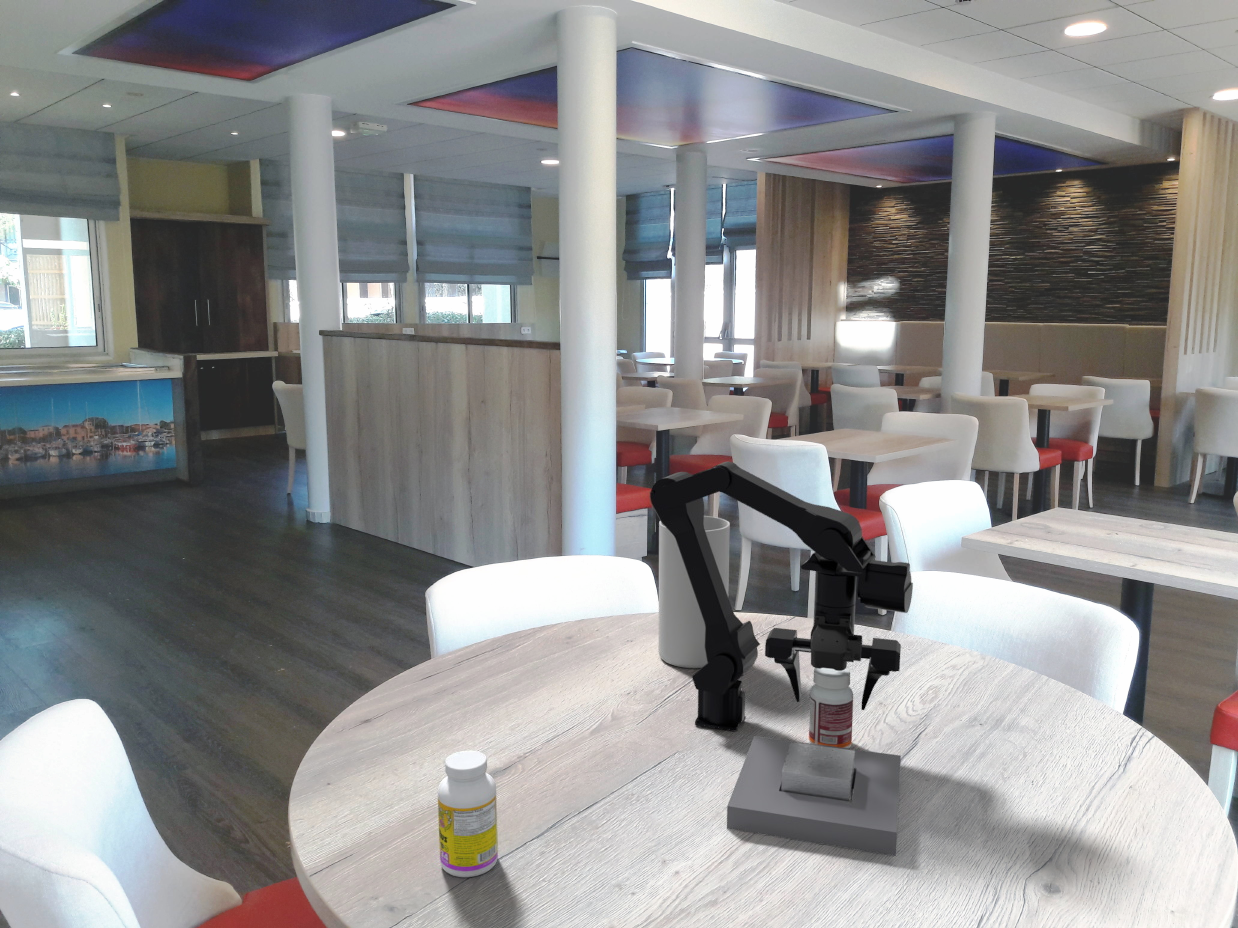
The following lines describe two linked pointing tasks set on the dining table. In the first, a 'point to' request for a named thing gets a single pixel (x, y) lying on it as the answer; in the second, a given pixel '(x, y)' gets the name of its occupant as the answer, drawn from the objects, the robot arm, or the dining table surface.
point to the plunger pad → (818, 771)
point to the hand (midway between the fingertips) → (830, 704)
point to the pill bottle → (831, 708)
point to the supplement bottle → (467, 816)
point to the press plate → (818, 801)
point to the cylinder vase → (686, 596)
